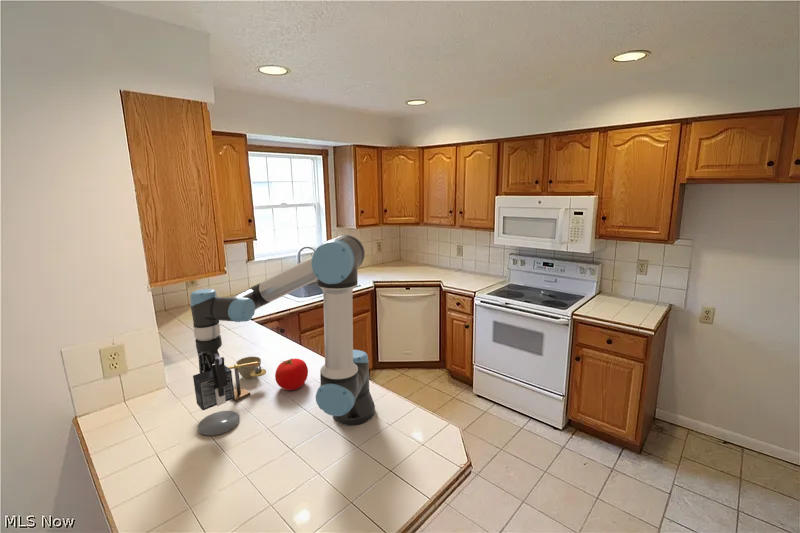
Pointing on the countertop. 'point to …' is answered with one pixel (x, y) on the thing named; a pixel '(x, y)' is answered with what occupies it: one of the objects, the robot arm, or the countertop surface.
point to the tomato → (291, 374)
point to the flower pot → (248, 369)
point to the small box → (211, 388)
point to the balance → (240, 392)
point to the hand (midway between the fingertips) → (215, 400)
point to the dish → (218, 423)
